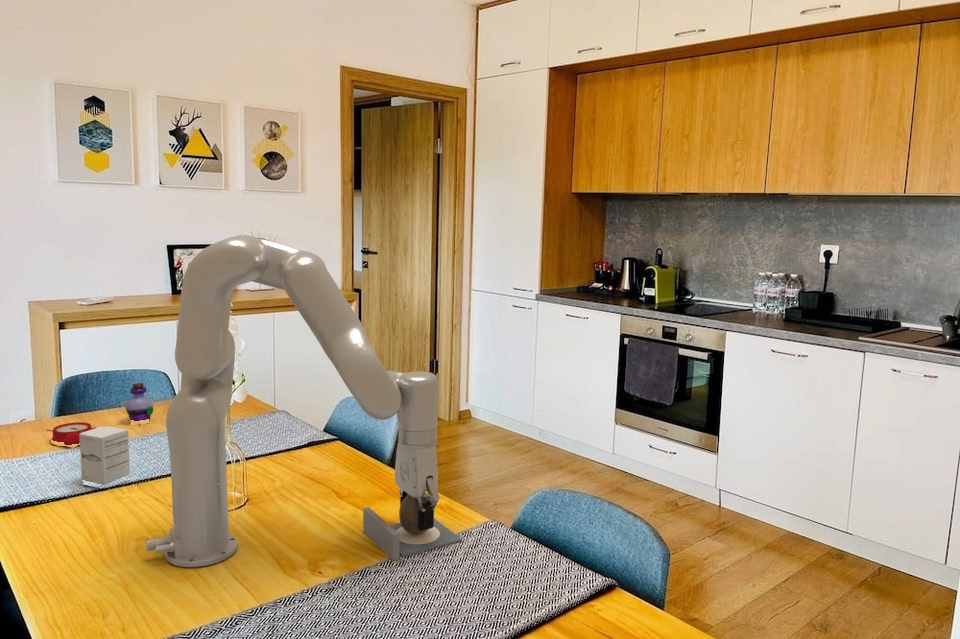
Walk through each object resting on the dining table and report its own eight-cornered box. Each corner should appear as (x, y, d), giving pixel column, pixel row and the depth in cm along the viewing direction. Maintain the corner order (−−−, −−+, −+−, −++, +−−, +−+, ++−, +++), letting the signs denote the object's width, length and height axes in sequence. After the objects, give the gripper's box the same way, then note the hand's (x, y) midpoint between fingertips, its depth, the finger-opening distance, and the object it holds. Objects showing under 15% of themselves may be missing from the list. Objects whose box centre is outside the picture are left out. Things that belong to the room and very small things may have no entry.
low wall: (393, 561, 130) (393, 535, 129) (363, 531, 142) (363, 508, 141) (399, 559, 131) (399, 533, 130) (368, 530, 142) (368, 507, 142)
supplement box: (80, 486, 162) (77, 433, 160) (108, 475, 168) (105, 424, 167) (104, 491, 159) (101, 437, 157) (131, 480, 166) (128, 428, 164)
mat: (402, 557, 132) (402, 554, 132) (373, 530, 142) (373, 528, 142) (462, 541, 139) (462, 539, 139) (430, 517, 149) (430, 515, 149)
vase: (428, 539, 136) (429, 496, 135) (394, 535, 138) (394, 492, 136) (437, 525, 143) (438, 483, 142) (405, 521, 144) (405, 480, 143)
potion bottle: (151, 426, 207) (149, 386, 205) (120, 427, 206) (117, 387, 204) (159, 418, 216) (157, 379, 214) (128, 419, 214) (126, 380, 212)
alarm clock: (78, 420, 200) (107, 417, 192) (82, 441, 200) (111, 439, 192) (39, 429, 191) (69, 426, 183) (44, 451, 191) (73, 450, 184)
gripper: (381, 426, 143) (380, 509, 145) (421, 451, 128) (420, 543, 131) (414, 421, 147) (413, 502, 149) (457, 445, 132) (454, 534, 135)
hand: (416, 520), depth 140 cm, fingers closed on vase, 7 cm apart
